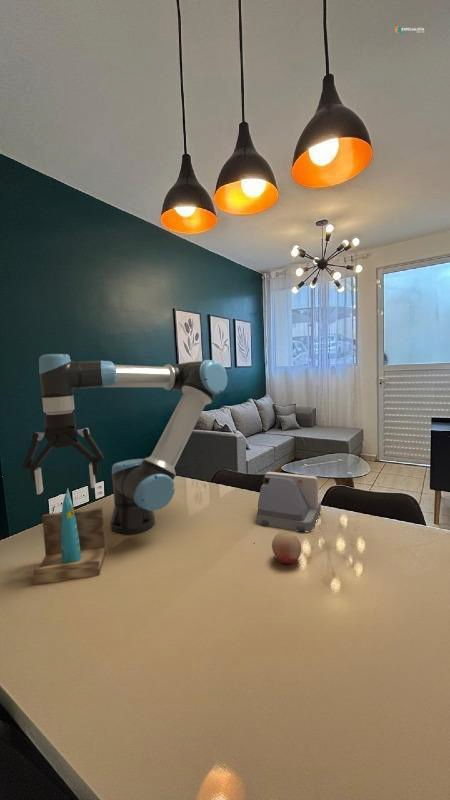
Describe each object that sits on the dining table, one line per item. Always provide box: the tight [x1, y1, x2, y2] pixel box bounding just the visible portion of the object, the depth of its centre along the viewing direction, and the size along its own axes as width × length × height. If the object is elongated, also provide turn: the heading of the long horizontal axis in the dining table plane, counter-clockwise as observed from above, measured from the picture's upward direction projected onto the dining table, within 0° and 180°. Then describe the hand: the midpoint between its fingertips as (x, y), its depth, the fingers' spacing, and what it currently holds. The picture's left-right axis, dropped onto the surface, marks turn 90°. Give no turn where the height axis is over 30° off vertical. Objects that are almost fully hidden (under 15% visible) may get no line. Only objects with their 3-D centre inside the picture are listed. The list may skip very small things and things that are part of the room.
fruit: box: [271, 530, 302, 565], centre depth 93 cm, size 8×8×8 cm
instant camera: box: [256, 471, 322, 532], centre depth 120 cm, size 21×21×15 cm
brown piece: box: [32, 507, 107, 586], centre depth 94 cm, size 16×12×14 cm
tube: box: [61, 487, 81, 564], centre depth 93 cm, size 7×5×19 cm, turn 26°
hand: (67, 489), depth 93 cm, fingers open, 13 cm apart
